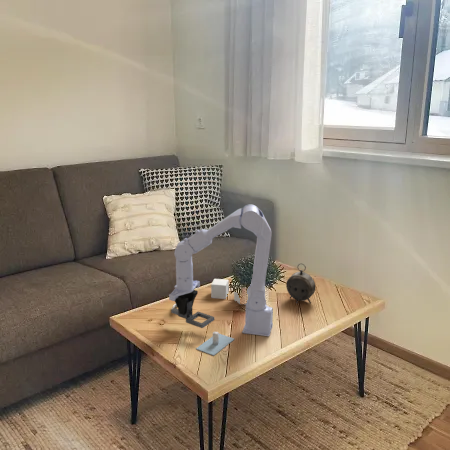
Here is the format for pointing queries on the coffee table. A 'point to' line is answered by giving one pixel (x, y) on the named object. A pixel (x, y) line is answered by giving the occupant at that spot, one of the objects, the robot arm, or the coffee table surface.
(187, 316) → the grey block with tab
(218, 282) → the white cube
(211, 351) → the keeper
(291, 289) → the alarm clock
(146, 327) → the coffee table surface
